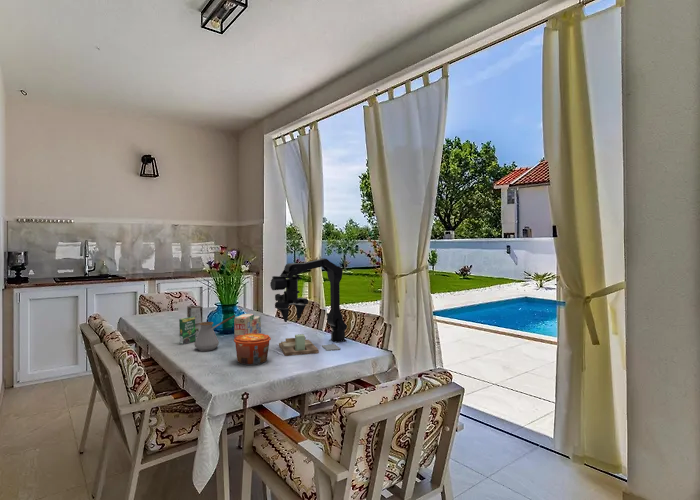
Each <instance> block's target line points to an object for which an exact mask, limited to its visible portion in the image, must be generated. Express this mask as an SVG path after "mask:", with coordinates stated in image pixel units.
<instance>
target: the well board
mask: <svg viewBox="0 0 700 500" xmlns="http://www.w3.org/2000/svg"><path fill="white" fill-rule="evenodd" d="M309 341H310V342H311V343H312V346H305V350H298V351H295V347H286V348H284V347H283V345H282V344H281V342H278V347H279V348H280V350H281V352H282V353H283V355H284V357H289V356H299V355H301V356H302V355H313V354H314V355H315V354H320V352H319V351H320V350H319V348H318V347H317V346H316V345H314V343H313V342H312V341H311V340H309Z"/></svg>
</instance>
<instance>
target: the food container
mask: <svg viewBox="0 0 700 500" xmlns="http://www.w3.org/2000/svg"><path fill="white" fill-rule="evenodd" d="M271 339H272V337H270V335H269V334H265V333H261V332H260V333H257V334H254V333H251V334H245V335H239V336H237V337H236V338H235V339H233V342H234V343H235V350H236V351H235V352H236V360H237V363H239V364H241V365H244V366H245V365H249V366H250V365H251V366H253V365H259V364H263V363H264V364H265V362H267V361H268V355H269V349H270V347H269V346H270V341H271Z"/></svg>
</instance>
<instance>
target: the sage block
mask: <svg viewBox="0 0 700 500" xmlns="http://www.w3.org/2000/svg"><path fill="white" fill-rule="evenodd" d="M305 337H306V336H305V334H303V333H301V334H294V338H295V351H298V350H305Z"/></svg>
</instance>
